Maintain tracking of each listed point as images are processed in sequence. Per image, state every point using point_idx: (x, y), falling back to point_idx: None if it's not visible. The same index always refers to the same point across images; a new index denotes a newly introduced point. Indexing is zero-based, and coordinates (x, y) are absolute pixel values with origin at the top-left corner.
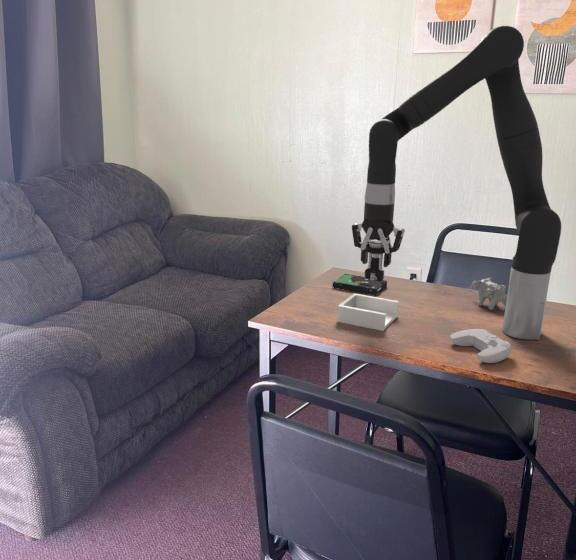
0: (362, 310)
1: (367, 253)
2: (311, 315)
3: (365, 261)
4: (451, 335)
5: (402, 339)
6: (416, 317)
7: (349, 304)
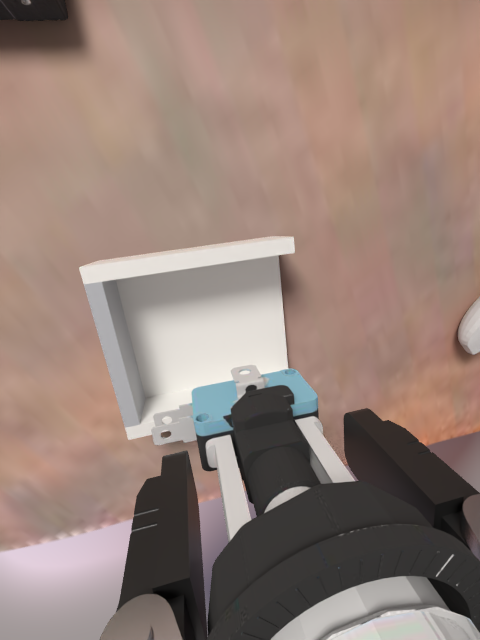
0: None
1: (192, 545)
2: (32, 418)
3: (196, 509)
4: (472, 341)
5: (345, 386)
6: (328, 199)
7: (126, 351)
